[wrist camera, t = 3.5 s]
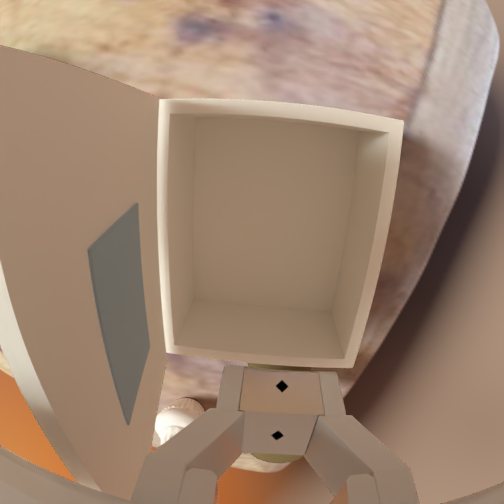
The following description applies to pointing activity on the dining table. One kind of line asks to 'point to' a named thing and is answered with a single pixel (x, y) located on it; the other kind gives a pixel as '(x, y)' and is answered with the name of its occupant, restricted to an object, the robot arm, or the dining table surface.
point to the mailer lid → (81, 263)
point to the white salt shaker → (177, 417)
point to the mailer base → (271, 228)
